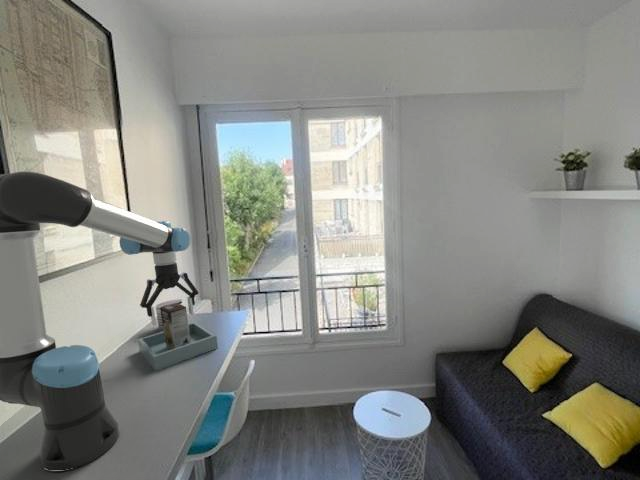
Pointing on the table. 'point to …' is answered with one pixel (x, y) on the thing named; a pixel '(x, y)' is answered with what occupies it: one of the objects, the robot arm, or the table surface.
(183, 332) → the coffee box
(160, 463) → the table surface
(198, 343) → the bin
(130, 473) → the table surface
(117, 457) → the table surface
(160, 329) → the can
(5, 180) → the robot arm
